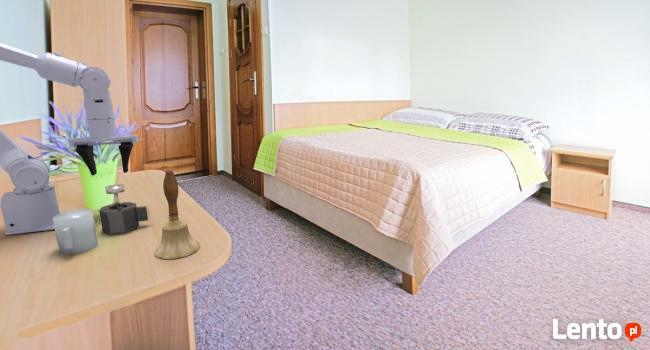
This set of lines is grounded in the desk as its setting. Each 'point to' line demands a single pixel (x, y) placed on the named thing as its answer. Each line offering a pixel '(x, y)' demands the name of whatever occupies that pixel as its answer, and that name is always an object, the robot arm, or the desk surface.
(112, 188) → the grey flared round piece
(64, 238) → the white dome with tab
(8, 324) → the desk surface
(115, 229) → the grey octagonal pot
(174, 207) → the hand bell
